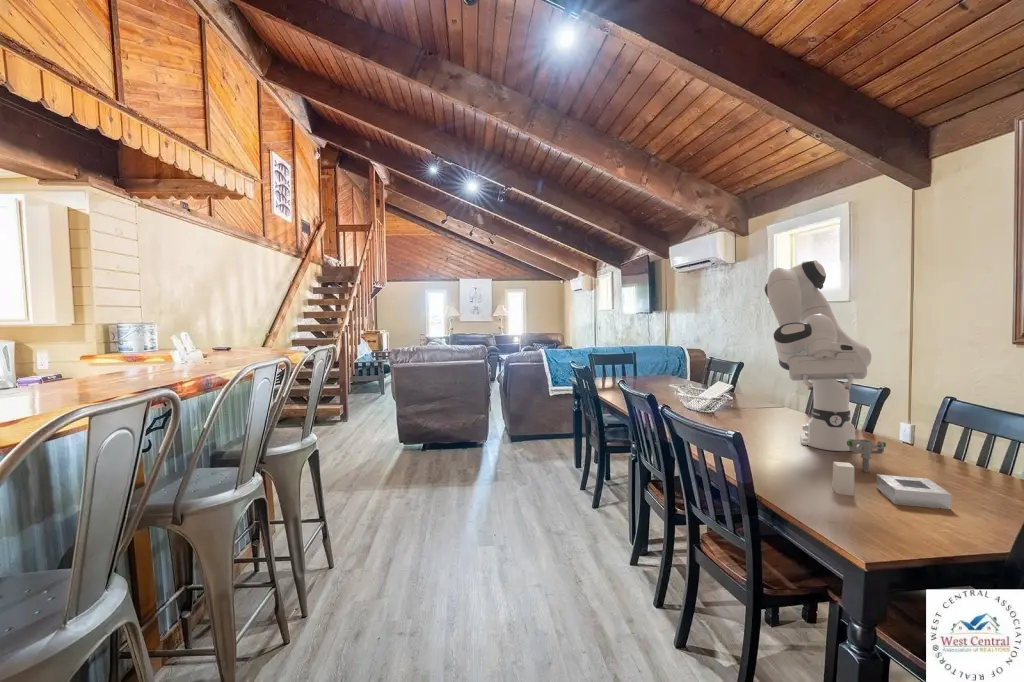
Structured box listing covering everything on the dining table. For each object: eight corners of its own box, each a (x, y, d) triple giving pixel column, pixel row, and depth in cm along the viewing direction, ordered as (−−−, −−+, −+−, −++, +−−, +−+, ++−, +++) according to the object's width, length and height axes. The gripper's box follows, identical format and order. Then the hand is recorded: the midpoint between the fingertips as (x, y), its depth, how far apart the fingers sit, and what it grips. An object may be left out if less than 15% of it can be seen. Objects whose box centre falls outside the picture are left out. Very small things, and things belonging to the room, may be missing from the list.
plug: (832, 488, 138) (833, 461, 137) (848, 490, 137) (849, 462, 136) (836, 493, 134) (837, 466, 134) (853, 495, 133) (854, 467, 132)
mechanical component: (886, 474, 149) (887, 442, 148) (849, 472, 151) (850, 441, 150) (880, 471, 152) (881, 440, 151) (844, 469, 154) (845, 439, 153)
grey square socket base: (876, 488, 138) (876, 474, 137) (927, 492, 134) (928, 478, 134) (894, 504, 126) (895, 489, 126) (950, 509, 122) (951, 494, 122)
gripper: (786, 349, 156) (788, 382, 147) (863, 345, 146) (870, 380, 137) (787, 362, 160) (789, 395, 151) (862, 359, 150) (869, 394, 141)
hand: (829, 388), depth 144 cm, fingers open, 8 cm apart
